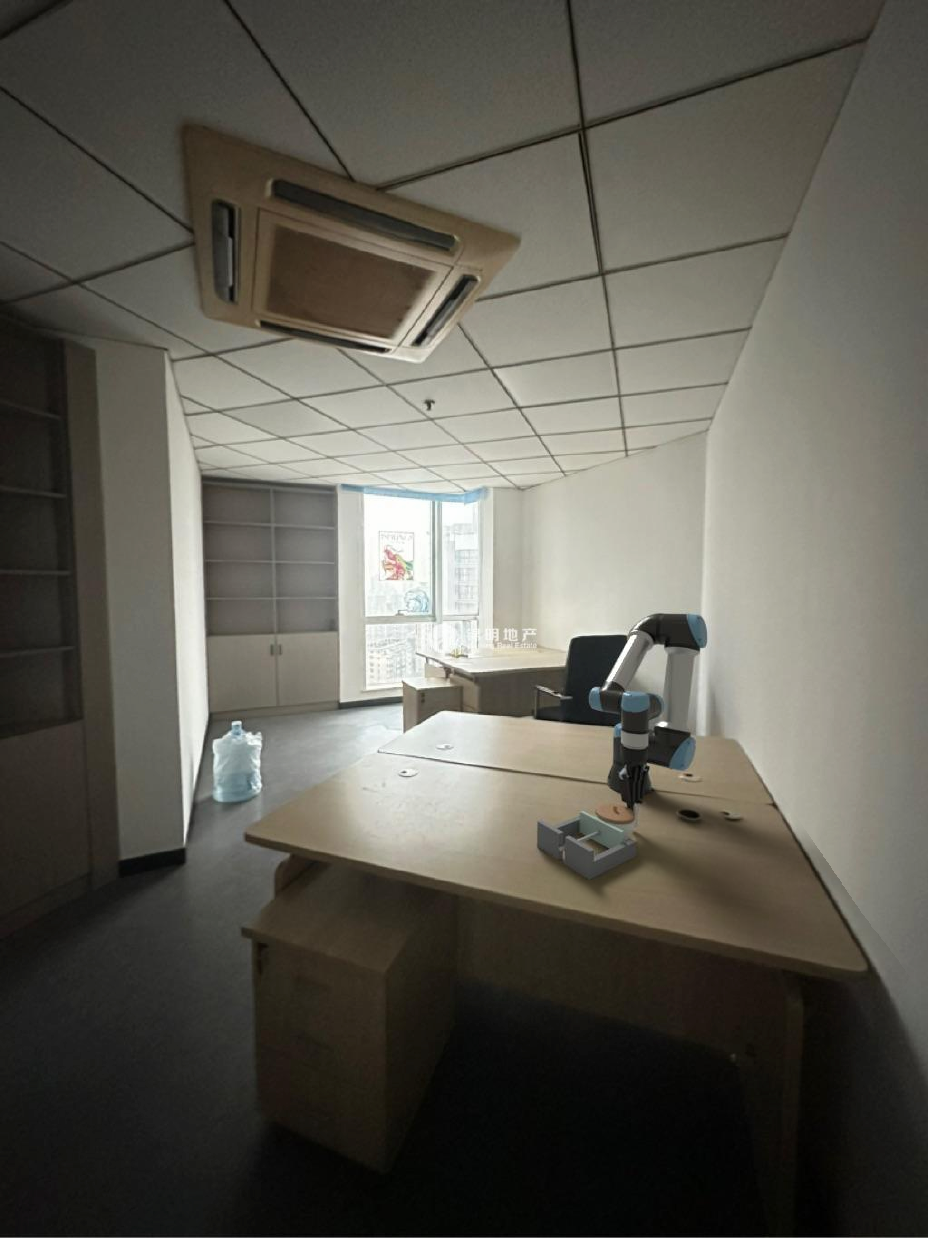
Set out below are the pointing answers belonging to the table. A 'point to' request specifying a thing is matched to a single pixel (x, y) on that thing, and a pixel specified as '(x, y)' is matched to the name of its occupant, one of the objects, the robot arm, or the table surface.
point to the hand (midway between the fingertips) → (632, 824)
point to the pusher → (598, 831)
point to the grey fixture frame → (580, 849)
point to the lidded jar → (617, 817)
